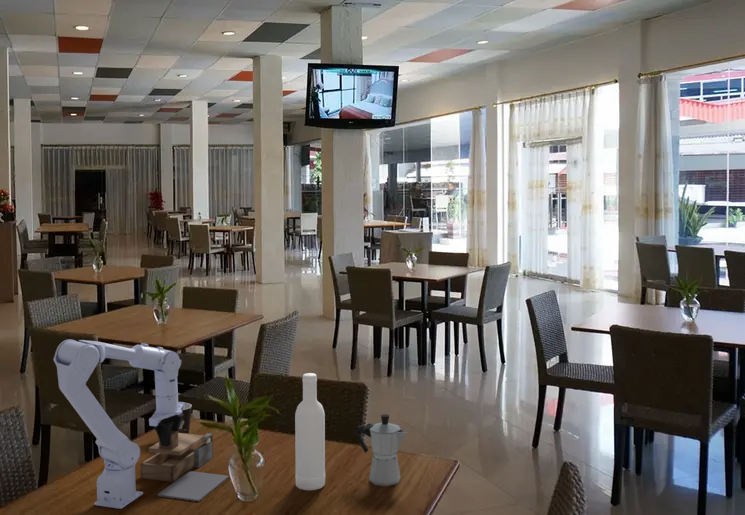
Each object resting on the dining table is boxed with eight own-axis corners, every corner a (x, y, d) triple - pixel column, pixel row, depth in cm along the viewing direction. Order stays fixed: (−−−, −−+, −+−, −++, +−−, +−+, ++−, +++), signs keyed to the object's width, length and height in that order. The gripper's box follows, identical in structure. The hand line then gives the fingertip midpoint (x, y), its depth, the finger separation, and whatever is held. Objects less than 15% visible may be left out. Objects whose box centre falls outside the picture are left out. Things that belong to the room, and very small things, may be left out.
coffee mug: (196, 433, 234) (195, 403, 233) (186, 442, 226) (186, 411, 225) (161, 432, 235) (160, 401, 234) (150, 441, 227) (149, 410, 226)
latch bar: (206, 443, 209) (206, 439, 209) (167, 439, 213) (167, 435, 213) (210, 441, 211) (210, 437, 211) (171, 437, 215) (171, 433, 215)
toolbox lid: (179, 455, 192) (179, 436, 192) (148, 451, 195) (148, 433, 194) (205, 439, 205) (204, 421, 205) (175, 435, 208) (175, 418, 207)
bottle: (331, 483, 195) (330, 373, 192) (313, 493, 188) (312, 380, 185) (307, 476, 199) (307, 369, 196) (289, 486, 193) (288, 375, 190)
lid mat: (199, 501, 183) (199, 499, 183) (157, 496, 187) (157, 494, 186) (229, 477, 198) (229, 475, 198) (190, 472, 202) (190, 470, 202)
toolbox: (178, 482, 195) (177, 456, 194) (136, 477, 199) (135, 451, 198) (213, 457, 213) (212, 433, 212) (174, 452, 217) (173, 429, 216)
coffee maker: (411, 475, 200) (411, 412, 198) (403, 488, 191) (404, 422, 190) (359, 470, 204) (359, 407, 202) (349, 482, 195) (349, 417, 194)
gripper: (165, 403, 186) (167, 454, 187) (193, 387, 200) (195, 435, 201) (141, 401, 188) (143, 452, 189) (171, 385, 202) (173, 433, 203)
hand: (168, 443), depth 195 cm, fingers closed on toolbox lid, 3 cm apart
